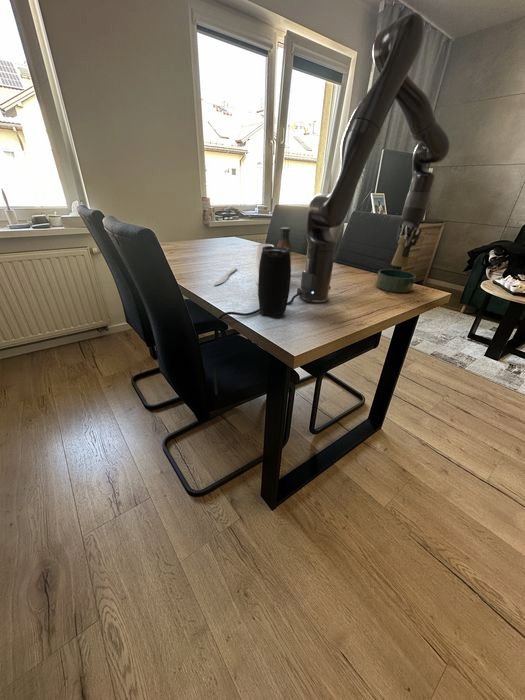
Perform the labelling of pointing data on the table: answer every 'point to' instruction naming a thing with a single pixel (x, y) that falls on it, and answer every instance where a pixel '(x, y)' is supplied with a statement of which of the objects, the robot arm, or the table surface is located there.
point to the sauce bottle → (285, 239)
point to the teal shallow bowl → (395, 280)
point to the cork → (400, 254)
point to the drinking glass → (258, 256)
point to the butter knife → (225, 276)
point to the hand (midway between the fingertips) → (401, 255)
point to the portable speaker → (274, 280)
